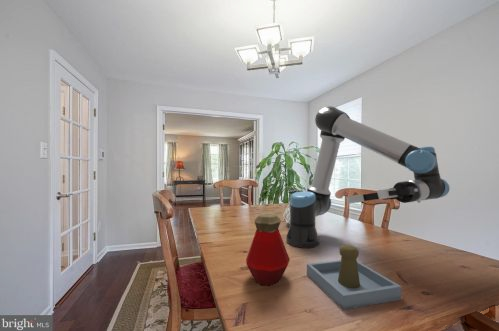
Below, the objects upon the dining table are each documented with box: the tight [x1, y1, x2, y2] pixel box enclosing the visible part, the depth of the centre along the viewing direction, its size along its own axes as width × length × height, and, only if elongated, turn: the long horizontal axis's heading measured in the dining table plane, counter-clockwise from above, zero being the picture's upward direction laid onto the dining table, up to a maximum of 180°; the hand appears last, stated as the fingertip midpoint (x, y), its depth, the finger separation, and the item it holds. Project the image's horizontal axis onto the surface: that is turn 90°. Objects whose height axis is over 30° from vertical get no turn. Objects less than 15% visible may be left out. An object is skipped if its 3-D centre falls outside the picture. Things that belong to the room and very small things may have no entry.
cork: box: [338, 244, 360, 289], centre depth 64 cm, size 6×6×11 cm
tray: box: [306, 259, 402, 311], centre depth 63 cm, size 18×18×4 cm
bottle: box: [245, 212, 291, 287], centre depth 68 cm, size 16×14×20 cm
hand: (362, 197), depth 71 cm, fingers open, 13 cm apart
